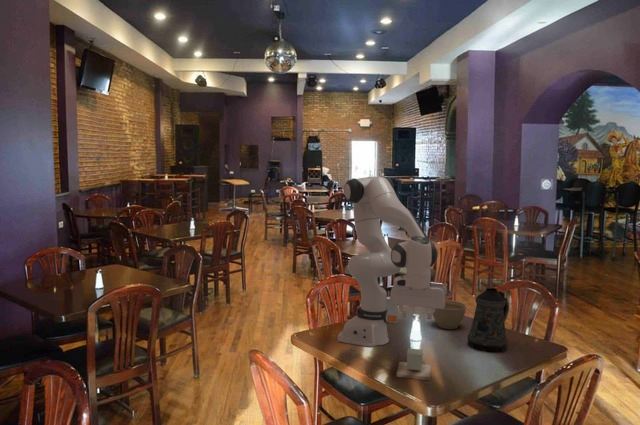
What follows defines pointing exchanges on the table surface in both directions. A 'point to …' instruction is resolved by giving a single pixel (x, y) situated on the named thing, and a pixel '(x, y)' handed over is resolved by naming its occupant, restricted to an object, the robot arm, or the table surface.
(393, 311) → the skincare box
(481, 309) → the beer stein
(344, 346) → the table surface
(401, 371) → the post stand
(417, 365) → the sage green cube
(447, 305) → the planter bowl
